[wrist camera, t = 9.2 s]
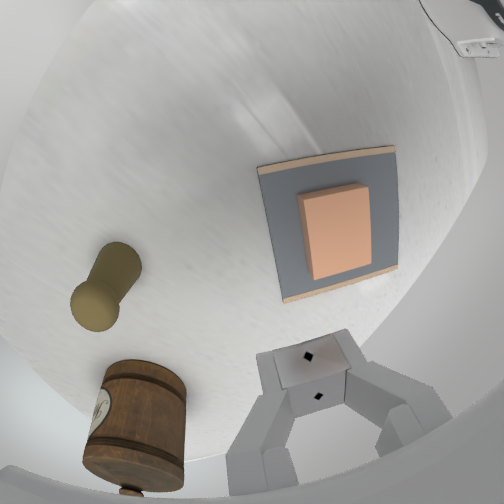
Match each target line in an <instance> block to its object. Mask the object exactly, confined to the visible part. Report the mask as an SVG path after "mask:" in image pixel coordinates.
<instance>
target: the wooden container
mask: <svg viewBox="0 0 504 504" xmlns="http://www.w3.org/2000/svg"><path fill="white" fill-rule="evenodd" d="M185 424H186V389H185V386H184V384H183V383H182V381H181V380H180V379H179V378H178V377H177V376H176V375H175V374H173V373H172V372H170V371H169V370H167V369H165V368H163V367H161V366H159V365H156V364H153V363H149V362H144V361H138V360H127V361H121V362H117V363H115V364H113V365H111V366H110V367H109V368H108V369H107V371H106V374H105V377H104V380H103V383H102V386H101V389H100V392H99V395H98V398H97V402H96V406H95V409H94V414H93V418H92V423H91V427H90V431H89V435H88V440H87V443H86V446H85V450H84V455H83V461H82V462H83V465H84V466H85V468H86V469H88V470H89V471H90V472H92V473H93V474H95V475H96V476H98V477H100V478H102V479H104V480H106V481H108V482H111V483H114V484H116V485H119V486H121V487H122V488H121V489H119V493H120V495H128V496H137V497H144V495H143V493H141V491H148V492H172V491H176V490H179V489H181V488H182V487H183V485H184V443H185Z"/></svg>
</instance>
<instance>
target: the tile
mask: <svg viewBox="0 0 504 504" xmlns="http://www.w3.org/2000/svg"><path fill="white" fill-rule="evenodd" d="M297 199H298V205H299V212H300V218H301V225H302V231H303V238H304V246H305V253H306V260H307V268H308V272H309V273H310V275H311V276H312V278H313V279H314V280H317V279H320V278H324V277H327V276H331V275H334V274H338V273H341V272H345V271H348V270H351V269H355V268H358V267H361V266H365V265H368V264H371V221H370V203H369V189H368V187H367V186H365V185H362V184H360V183H354V184H349V185H344V186H339V187H334V188H329V189H324V190H319V191H314V192H309V193H305V194H300V195H297Z"/></svg>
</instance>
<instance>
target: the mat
mask: <svg viewBox="0 0 504 504" xmlns="http://www.w3.org/2000/svg"><path fill="white" fill-rule="evenodd" d="M395 152H396V150H395V146H384V147H375V148H367V149H359V150H352V151H345V152H338V153H331V154H325V155H319V156H313V157H307V158H302V159H296V160H291V161H286V162H281V163H276V164H271V165H266V166H261V167H257V172H258V176H259V181H260V186H261V191H262V196H263V200H264V205H265V210H266V215H267V220H268V225H269V230H270V235H271V240H272V246H273V251H274V256H275V261H276V266H277V272H278V277H279V282H280V288H281V293H282V298H283V303H284V304H285V303H288V302H292V301H296V300H299V299H303V298H306V297H310V296H313V295H317V294H320V293H324V292H327V291H330V290H334V289H337V288H340V287H344V286H347V285H350V284H353V283H357V282H360V281H363V280H366V279H369V278H372V277H375V276H378V275H381V274H384V273H387V272H390V271H393V270H396V269H398V241H399V204H398V180H397V166H396V154H395ZM354 183H360V184H362V185H365V186H367V187H368V189H369V203H370V221H371V264H368V265H365V266H361V267H358V268H355V269H351V270H348V271H345V272H341V273H338V274H334V275H331V276H327V277H324V278H320V279H317V280H314V279H313V278H312V276H311V275H310V273H309V272H308V268H307V260H306V253H305V246H304V238H303V231H302V225H301V218H300V212H299V205H298V199H297V195H300V194H305V193H309V192H314V191H319V190H324V189H329V188H334V187H339V186H344V185H349V184H354Z"/></svg>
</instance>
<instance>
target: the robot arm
mask: <svg viewBox="0 0 504 504" xmlns="http://www.w3.org/2000/svg"><path fill="white" fill-rule="evenodd" d="M420 2H421V4H422V6H423V7H424V9H425V11H426V12H427V14H428V16H429V17H430V18H431V20H432V21H433V22H434V24H435V25H436V26H437V27H438V29H439V30H440V31H441V32H442V33H443V34H444V35H445V36H446V37H447V38H448V39H449V40H450V41H451V42H452V44H453V45H454V47H455V49H456V50H457V52H458V53H459V55H460V56H462V57H486V58H487V57H488V58H489V57H490V58H497V57H499V52H500V51H499V46H504V0H420ZM256 360H257V365H258V370H259V375H260V380H261V385H262V390H263V395H259V396H258V398H257V400H256V402H255V404H254V405H253V407H252V409H251V411H250V413H249V415H248V417H247V418H246V420H245V422H244V424H243V426H242V427H241V429H240V431H239V433H238V435H237V436H236V438H235V440H234V442H233V443H232V445H231V447H230V449H229V450H228V452H227V454H226V464H227V476H228V486H229V495H230V496H229V497H218V498H198V499H167V498H149V497H148V498H147V497H137V496H128V495H120V494H114V493H107V492H102V491H96V490H91V489H86V488H82V487H78V486H74V485H69V484H66V483H62V482H59V481H55V480H52V479H49V478H46V477H43V476H40V475H37V474H34V473H31V472H28V471H26V470H24V469H21V468H19V467H16V466H12V465H8V466H6V467H4V468H3V469H2V470H0V504H504V379H503V380H502V381H501V382H500V383H499V384H497V385H496V386H495V387H494V388H493V389H491V390H490V391H489V392H488V393H487V394H485V395H484V396H483V397H482V398H480V399H479V400H477V401H476V402H475V403H474V404H472V405H471V406H469V407H468V408H467V409H465V410H464V411H463V412H461V413H459V414H458V415H457V416H455V417H454V418H453V417H452V415H451V414H450V412H449V411H448V410H447V408H446V406H445V405H444V403H443V402H442V400H441V399H440V397H439V396H438V394H437V393H436V391H435V390H434V388H433V387H431V386H429V385H426V384H424V383H421V382H419V381H417V380H414V379H412V378H410V377H407V376H405V375H403V374H400V373H398V372H396V371H393V370H391V369H389V368H387V367H385V366H382V365H380V364H378V363H376V362H373V361H370V362H367V360H366V359H365V357H364V355H363V354H362V352H361V350H360V349H359V347H358V345H357V344H356V342H355V340H354V339H353V337H352V336H351V334H350V332H349V331H348V330H347V329H343V330H340V331H337V332H334V333H331V334H328V335H325V336H321V337H318V338H315V339H312V340H309V341H305V342H302V343H299V344H295V345H291V346H287V347H283V348H279V349H275V350H272V351H267V352H263V353H258V354H256ZM342 403H345V405H347V406H348V407H350V408H351V409H353V410H354V411H356V412H357V413H359V414H360V415H362V416H364V417H365V418H367V419H368V420H369V421H371V422H372V423H374V424H375V425H377V426H378V427H380V428H382V431H381V434H380V436H379V439H378V441H377V443H376V446H375V448H376V450H377V452H378V454H379V457H380V458H378V459H375V460H373V461H370V462H368V463H365V464H363V465H361V466H358V467H355V468H352V469H350V470H347V471H344V472H341V473H338V474H335V475H332V476H329V477H326V478H322V479H319V480H316V481H311V482H308V483H304V484H300V485H299V482H298V479H297V475H296V472H295V469H294V466H293V463H292V460H291V457H290V454H289V451H288V449H287V448H284V447H285V445H286V442H287V439H288V437H289V434H290V431H291V429H292V426H293V423H294V420H295V419H294V418H297V417H301V416H304V415H307V414H310V413H313V412H316V411H319V410H323V409H326V408H330V407H333V406H336V405H339V404H342Z"/></svg>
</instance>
